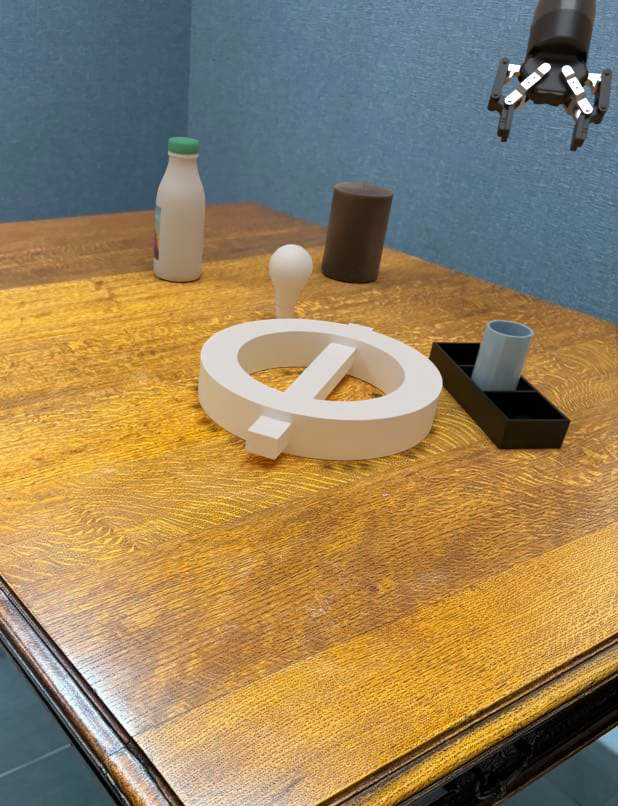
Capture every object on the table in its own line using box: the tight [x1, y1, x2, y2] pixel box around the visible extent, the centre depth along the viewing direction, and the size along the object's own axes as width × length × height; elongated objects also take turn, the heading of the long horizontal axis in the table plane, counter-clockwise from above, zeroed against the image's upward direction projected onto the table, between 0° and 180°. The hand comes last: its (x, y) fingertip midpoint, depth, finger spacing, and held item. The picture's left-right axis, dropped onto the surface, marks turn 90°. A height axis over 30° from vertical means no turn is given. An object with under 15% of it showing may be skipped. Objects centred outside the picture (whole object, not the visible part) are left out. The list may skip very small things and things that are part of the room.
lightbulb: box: [268, 243, 314, 319], centre depth 114 cm, size 6×6×11 cm
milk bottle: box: [152, 136, 206, 283], centre depth 125 cm, size 8×8×20 cm
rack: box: [428, 341, 572, 450], centre depth 99 cm, size 8×22×4 cm, turn 9°
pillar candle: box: [320, 179, 394, 284], centre depth 134 cm, size 10×10×15 cm
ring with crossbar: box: [197, 318, 443, 461], centre depth 96 cm, size 28×28×5 cm
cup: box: [471, 319, 535, 391], centre depth 97 cm, size 5×5×9 cm
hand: (539, 142), depth 102 cm, fingers open, 8 cm apart
